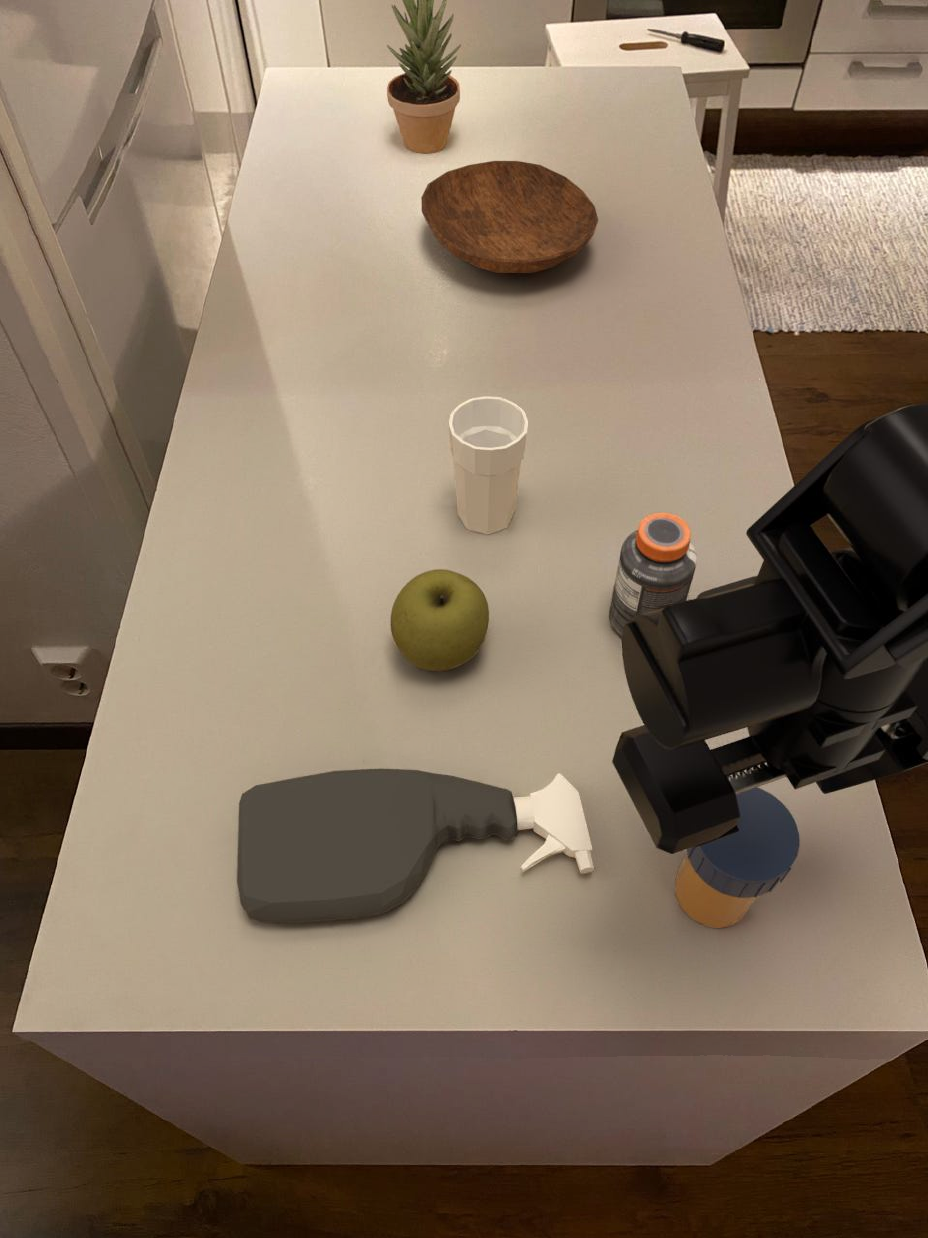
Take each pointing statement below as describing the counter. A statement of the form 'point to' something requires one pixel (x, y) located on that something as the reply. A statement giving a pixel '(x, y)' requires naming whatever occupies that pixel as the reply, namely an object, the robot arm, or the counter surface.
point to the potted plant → (424, 79)
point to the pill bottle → (652, 568)
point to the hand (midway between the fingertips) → (758, 809)
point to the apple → (439, 620)
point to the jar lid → (750, 849)
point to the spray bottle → (380, 837)
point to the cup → (487, 460)
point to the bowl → (509, 215)
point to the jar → (707, 900)
